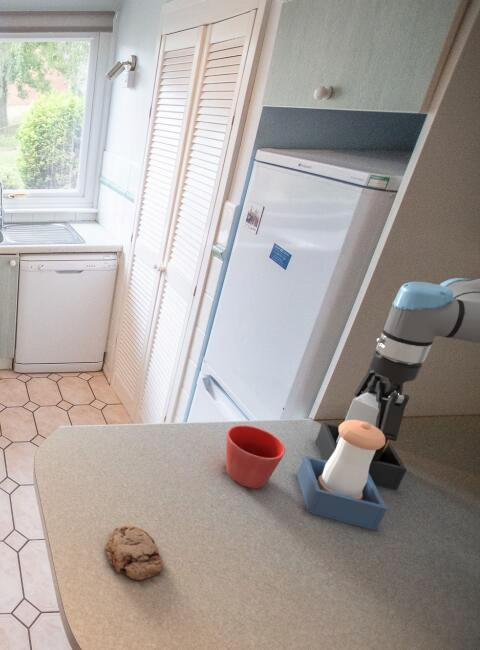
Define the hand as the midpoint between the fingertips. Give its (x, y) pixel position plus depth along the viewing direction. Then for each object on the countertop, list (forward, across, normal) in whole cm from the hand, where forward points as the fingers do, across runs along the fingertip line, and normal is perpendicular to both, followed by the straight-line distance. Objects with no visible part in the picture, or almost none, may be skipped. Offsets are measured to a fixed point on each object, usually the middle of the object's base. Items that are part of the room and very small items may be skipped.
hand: (362, 443), depth 102 cm
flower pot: (+6, +14, -23) cm, 28 cm away
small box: (+2, 0, 0) cm, 2 cm away
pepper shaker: (+5, +15, -7) cm, 17 cm away
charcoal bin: (+6, 0, 0) cm, 6 cm away
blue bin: (+6, +15, -7) cm, 18 cm away
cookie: (+6, +45, -44) cm, 63 cm away
